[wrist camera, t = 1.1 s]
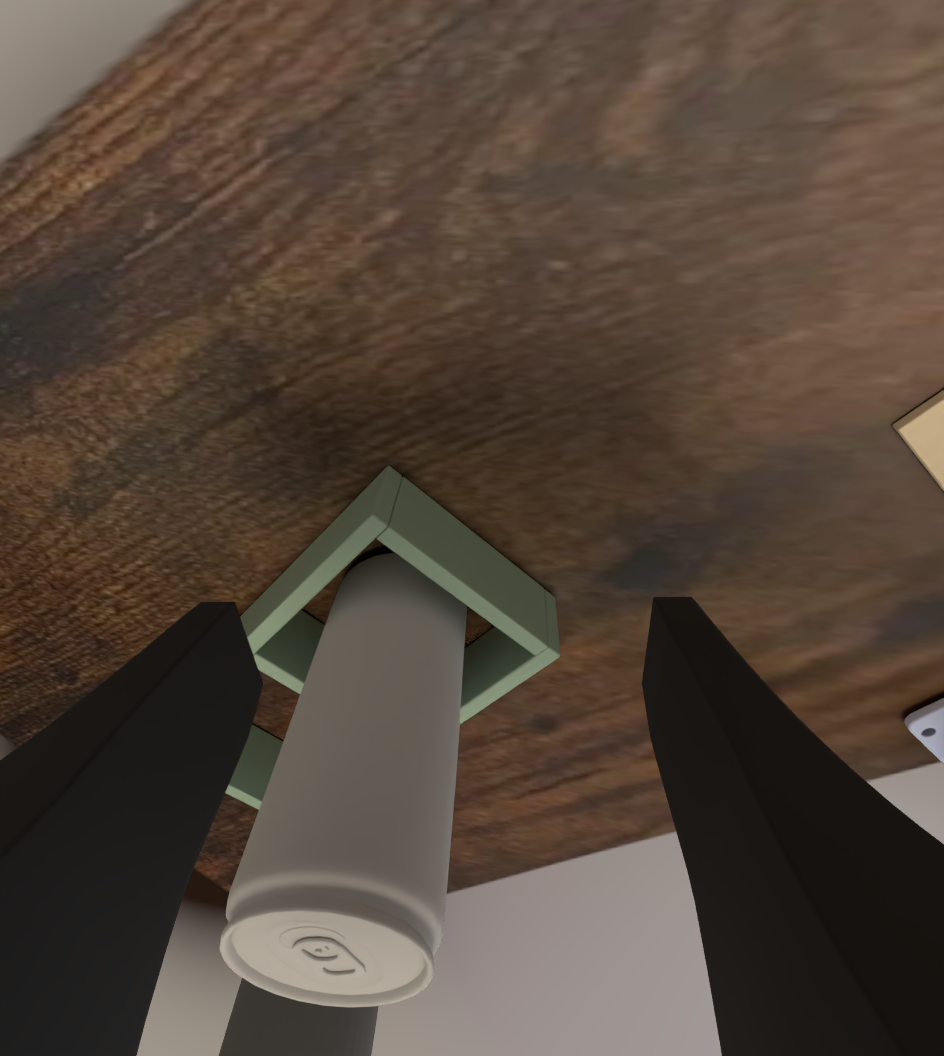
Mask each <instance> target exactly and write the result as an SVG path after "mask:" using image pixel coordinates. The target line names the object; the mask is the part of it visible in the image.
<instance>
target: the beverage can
mask: <svg viewBox="0 0 944 1056" xmlns="http://www.w3.org/2000/svg"><path fill="white" fill-rule="evenodd" d="M467 609H468V606H467V605H466V604H464V603H463V602H461V601H460V600H459V599H457V598H456V597H455V596H453V595H452V594H451V593H449V592H448V591H447V590H445V589H444V588H442V587H441V586H440V585H438V584H437V583H436V582H434V581H433V580H432V579H430V578H429V577H427V576H426V575H425V574H423V573H422V572H421V571H419V570H418V569H417V568H415V567H414V566H413V565H411V564H410V563H408V562H407V561H406V560H404V559H403V558H402V557H400V556H399V555H398V554H396V553H388V554H383V555H377V556H373V557H371V558H369V559H366V560H364V561H362V562H360V563H358V564H357V565H356V566H355V567H353V568H352V569H351V570H350V571H349V572H347V574H346V575H345V577H344V579H343V580H342V582H341V583H340V585H339V588H338V591H337V593H336V596H335V599H334V602H333V605H332V607H331V610H330V613H329V616H328V619H327V621H326V624H325V627H324V630H323V632H322V635H321V638H320V641H319V644H318V646H317V649H316V652H315V655H314V658H313V660H312V663H311V666H310V669H309V672H308V674H307V677H306V680H305V683H304V686H303V688H302V691H301V694H300V697H299V700H298V702H297V705H296V708H295V711H294V714H293V716H292V719H291V722H290V725H289V728H288V730H287V733H286V736H285V739H284V742H283V744H282V747H281V750H280V753H279V756H278V758H277V761H276V764H275V767H274V770H273V772H272V775H271V778H270V781H269V784H268V786H267V789H266V792H265V795H264V798H263V800H262V803H261V806H260V809H259V811H258V814H257V817H256V820H255V823H254V825H253V828H252V831H251V834H250V837H249V839H248V842H247V845H246V848H245V851H244V853H243V856H242V859H241V862H240V865H239V867H238V870H237V873H236V876H235V879H234V881H233V884H232V887H231V890H230V893H229V897H228V902H227V909H226V917H227V920H228V922H229V923H228V924H227V926H226V927H225V928H224V930H223V932H222V935H221V941H220V948H219V950H220V952H221V954H222V957H223V959H224V961H225V963H227V965H228V966H229V967H230V968H231V969H232V970H233V971H234V972H235V973H236V974H237V975H239V976H240V977H242V978H244V979H245V980H247V981H248V982H250V983H252V984H253V985H255V986H257V987H259V988H262V989H264V990H267V991H269V992H271V993H274V994H276V995H279V996H283V997H286V998H290V999H293V1000H297V1001H301V1002H307V1003H312V1004H318V1005H324V1006H337V1007H372V1006H379V1005H384V1004H390V1003H396V1002H398V1001H401V1000H404V999H407V998H410V997H412V996H414V995H416V994H417V993H419V992H420V991H421V990H423V989H424V988H426V987H427V985H428V983H429V982H430V980H431V978H432V977H433V974H434V962H433V956H434V954H435V952H436V950H437V949H438V946H439V945H440V943H441V941H442V937H443V930H444V918H445V905H446V893H447V881H448V869H449V857H450V844H451V832H452V820H453V808H454V796H455V783H456V770H457V756H458V743H459V726H460V709H461V691H462V674H463V658H464V645H465V633H466V621H467Z"/></svg>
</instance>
